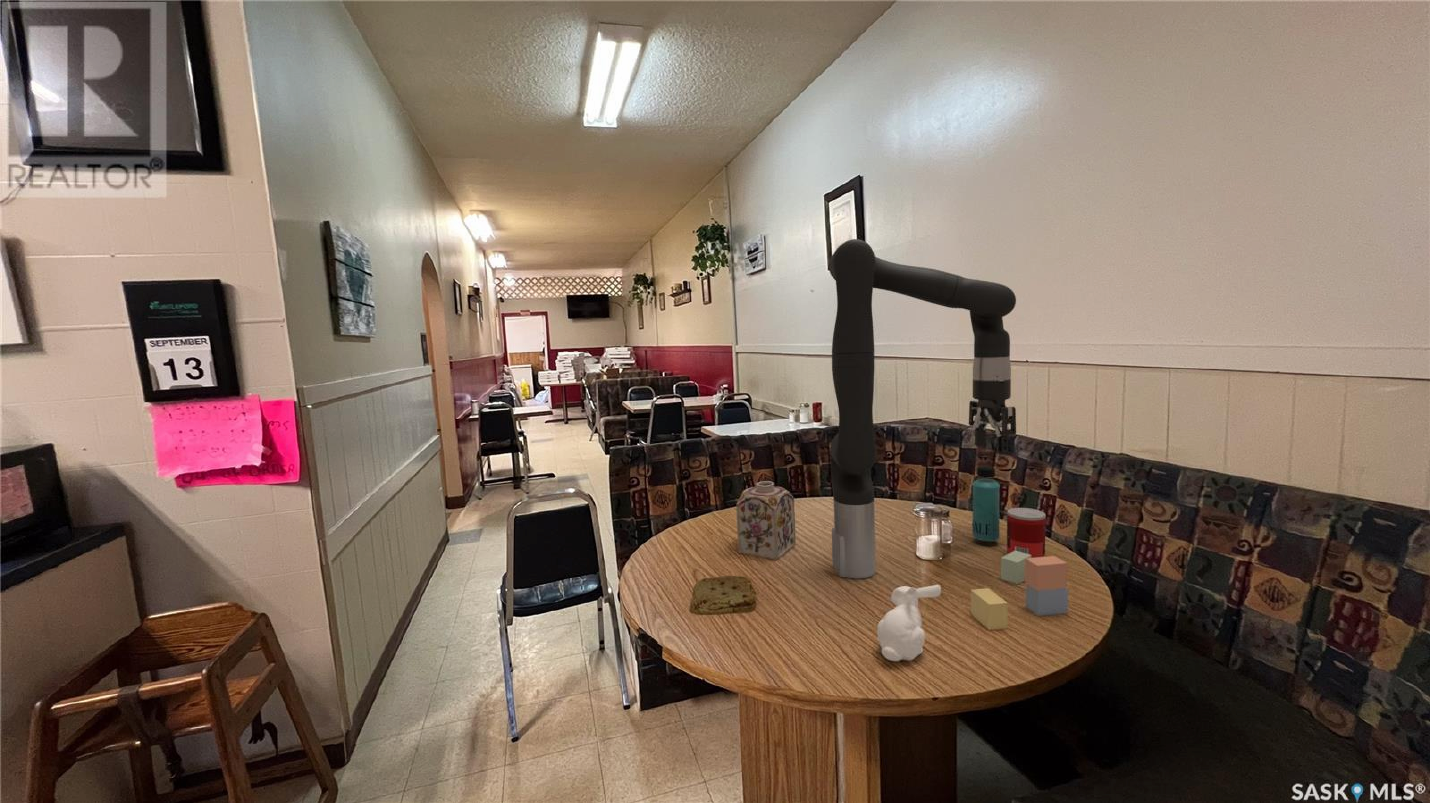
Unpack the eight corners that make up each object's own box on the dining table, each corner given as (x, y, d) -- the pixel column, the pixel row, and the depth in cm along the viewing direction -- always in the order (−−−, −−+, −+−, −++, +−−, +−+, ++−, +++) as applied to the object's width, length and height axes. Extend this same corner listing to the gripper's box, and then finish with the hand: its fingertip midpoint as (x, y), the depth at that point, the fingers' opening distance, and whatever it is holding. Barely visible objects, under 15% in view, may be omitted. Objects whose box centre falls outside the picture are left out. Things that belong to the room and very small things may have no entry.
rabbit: (892, 628, 101) (891, 567, 100) (945, 643, 95) (945, 579, 94) (867, 660, 92) (866, 593, 90) (924, 679, 86) (923, 607, 84)
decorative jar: (797, 545, 144) (794, 479, 142) (778, 561, 134) (775, 491, 132) (757, 538, 150) (754, 475, 148) (736, 553, 141) (733, 486, 139)
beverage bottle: (997, 538, 141) (998, 464, 139) (1002, 548, 135) (1002, 470, 133) (970, 537, 143) (970, 463, 141) (973, 546, 137) (973, 469, 135)
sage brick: (1017, 584, 116) (1017, 562, 115) (1001, 579, 119) (1001, 557, 118) (1031, 576, 119) (1031, 554, 119) (1015, 571, 122) (1015, 550, 122)
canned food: (1052, 562, 126) (1052, 516, 124) (1017, 563, 126) (1017, 518, 125) (1033, 549, 133) (1034, 506, 132) (1000, 551, 133) (1001, 508, 132)
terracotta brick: (1036, 590, 102) (1037, 565, 102) (1024, 582, 106) (1025, 558, 105) (1066, 588, 103) (1067, 562, 102) (1053, 580, 106) (1054, 555, 106)
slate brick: (1037, 615, 103) (1038, 590, 102) (1026, 606, 106) (1026, 582, 106) (1067, 612, 103) (1068, 588, 103) (1054, 604, 107) (1055, 580, 106)
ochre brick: (1007, 628, 99) (1007, 602, 99) (989, 630, 99) (989, 604, 98) (988, 612, 105) (988, 588, 105) (971, 614, 105) (971, 589, 104)
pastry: (723, 575, 129) (722, 563, 128) (779, 597, 116) (779, 584, 116) (667, 602, 117) (666, 588, 116) (723, 630, 104) (722, 615, 104)
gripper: (958, 376, 126) (958, 444, 127) (994, 380, 111) (993, 457, 113) (989, 374, 126) (988, 442, 128) (1028, 378, 112) (1027, 455, 114)
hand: (990, 449), depth 121 cm, fingers open, 8 cm apart
